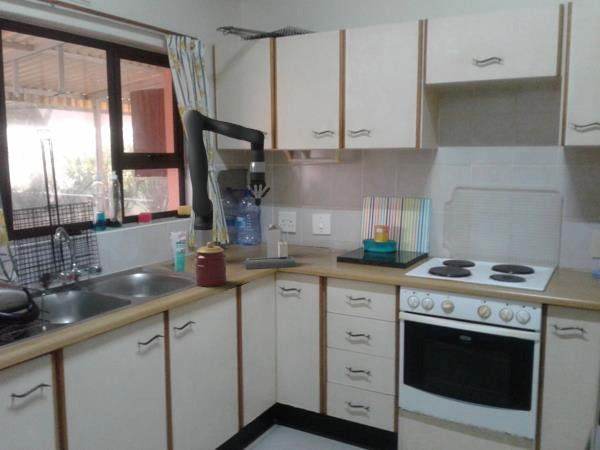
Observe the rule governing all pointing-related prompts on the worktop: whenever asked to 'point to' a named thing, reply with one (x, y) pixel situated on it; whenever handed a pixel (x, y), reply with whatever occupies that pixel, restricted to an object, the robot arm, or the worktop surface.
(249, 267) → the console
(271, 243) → the milk carton
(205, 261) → the canister
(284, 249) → the fader tab
